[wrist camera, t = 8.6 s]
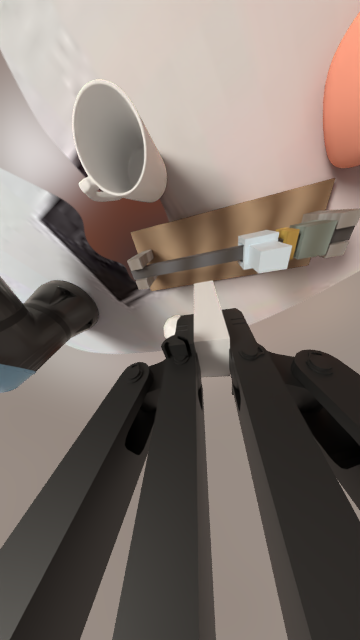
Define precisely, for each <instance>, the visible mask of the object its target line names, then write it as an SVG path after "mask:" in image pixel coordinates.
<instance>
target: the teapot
mask: <svg viewBox="0 0 360 640" xmlns="http://www.w3.org/2000/svg"><path fill="white" fill-rule="evenodd" d="M323 131H324V140H325V147H326V152H327V155H328V158H329V160H330V162H331V163H332V164H333V165H334V166H335V167H339V168H350V167H354V166H358V165H360V12H359V14H358V15H357V17H356V18H355V20H354V21H353V22H352V24H351V26H350V27H349V29H348V31H347V32H346V34H345V36H344V37H343V39H342V41H341V42H340V44H339V46H338V48H337V51H336V53H335V55H334V57H333V60H332V62H331V65H330V68H329V71H328V75H327V80H326V84H325V91H324V101H323Z"/></svg>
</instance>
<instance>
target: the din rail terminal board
mask: <svg viewBox="0 0 360 640" xmlns="http://www.w3.org/2000/svg"><path fill="white" fill-rule="evenodd" d="M334 181H335V178H333V179H329V180H326V181H322V182H318V183H314V184H311V185H307V186H303V187H299V188H296V189H292V190H288V191H284V192H281V193H277V194H273V195H269V196H266V197H262V198H258V199H254V200H251V201H247V202H243V203H239V204H236V205H232V206H228V207H225V208H221V209H217V210H213V211H210V212H206V213H202V214H198V215H195V216H191V217H187V218H183V219H180V220H176V221H172V222H168V223H165V224H161V225H157V226H153V227H150V228H146V229H142V230H138V231H135V232H131V235H132V238H133V241H134V243H135V246H136V249H137V252H138V254H137V255H136V256H134V257H132V258H131V259H129V260H128V261H127V262H128V264H129V267H130V269H131V273H132V275H133V278H134V280H136V284H137V286H138V289H139V290H141V289H147V288H150V289H151V291H155V290H161V289H167V288H173V287H179V286H185V285H191V284H195V283H201V282H207V281H212V280H213V281H216V280H222V279H228V278H234V277H240V276H246V275H252V274H258V273H257V272H256V271H255V270H254V269H253V268H251V269H245V270H244V269H243V268H242V267H241V266H240V265H239V264H238V260H243V248H244V245H240V246H238V236H241V235H245V234H250V233H254V232H259V231H264V230H271V231H276V232H279V237H278V242H282V243H285V244H288V245H292V249H291V254H290V258H289V262H288V267H287V269H289V268H295V267H301V266H307V265H309V262H310V259H311V257H315V256H320V257H323V258H330V257H336V256H342V255H344V253H345V250H346V248H347V246H348V243H349V242H346V241H345V240H349V239H350V236H351V234H352V232H353V229H354V227H355V225H357V223H358V220H359V218H360V209H343V210H326V207H327V204H328V200H329V197H330V194H331V191H332V187H333V184H334Z"/></svg>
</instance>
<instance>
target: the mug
mask: <svg viewBox="0 0 360 640" xmlns="http://www.w3.org/2000/svg"><path fill="white" fill-rule="evenodd" d="M72 129H73V137H74V142H75V147H76V150H77V153H78V156H79V159H80V161H81V163H82V166H83V168H84V169H85V171H86V173H87V174H88V177H87V178H84V179H83V180H82V181H81V182H80V183H79V187H80V188H81V190H82V191H83V192H84V193H85V194H87V196H88V197H89V198H90V199H92V200H94V201H114V200H119V199H121V198H127V199H133V200H138V201H142V202H155V201H157V200H158V199H160V198H161V196H162V195H163V193H164V191H165V188H166V184H167V172H166V167H165V164H164V162H163V159H162V158H161V156H160V153H159V151H158V149H157V148H156V146H155V144H154V142H153V140H152V138H151V136H150V134H149V133H148V131H147V129H146V127H145V125H144V123H143V121H142V119H141V118H140V116H139V114H138V112H137V110H136V108H135V106H134V104H133V103H132V101H131V100H130V98H129V97H128V96H127V94H126V93H125V92H124V91H123V90H122V89H121V88H119V87H118V86H117V85H115V84H114V83H112V82H110V81H107V80H103V79H97V80H93V81H90V82H88V83H87V84H86V85H85V86H84V87H83V88H82V89H81V90H80V92H79V94H78V96H77V98H76V101H75V104H74V108H73V116H72ZM99 188H100V189H102V190H103V191H105V192H96V191H97V190H98V189H99Z"/></svg>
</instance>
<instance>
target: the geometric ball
mask: <svg viewBox="0 0 360 640" xmlns="http://www.w3.org/2000/svg"><path fill="white" fill-rule="evenodd" d="M179 318H180V315H175V316H173V317H171V318H168V319H167V321H166V323H165V325H164V327H163V329H164V337H165V338H166V339H167V338H169V337H170V336H172V335H175V332H176V331H175V330H176V324H177V320H178V319H179Z"/></svg>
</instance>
